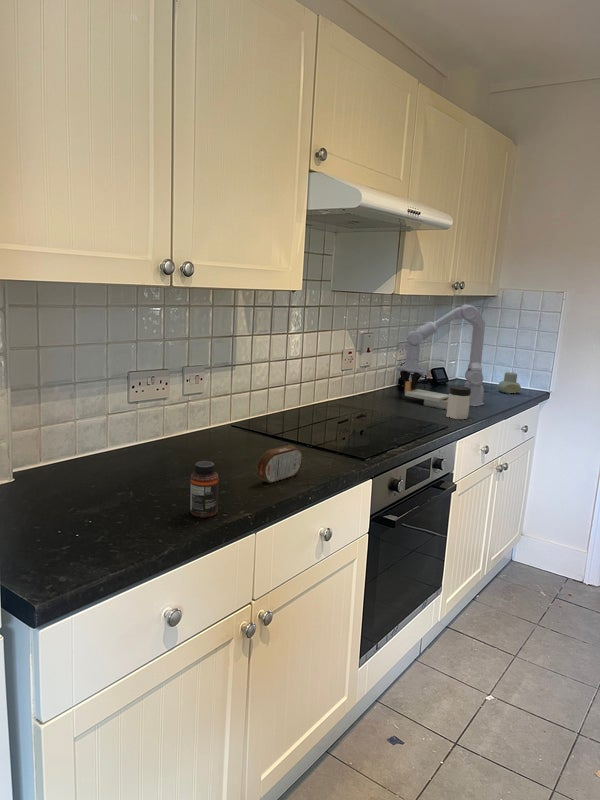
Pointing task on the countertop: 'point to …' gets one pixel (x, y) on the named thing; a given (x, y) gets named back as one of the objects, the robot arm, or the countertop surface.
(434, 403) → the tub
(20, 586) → the countertop surface
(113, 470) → the countertop surface
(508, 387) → the air freshener
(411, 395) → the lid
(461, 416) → the jar
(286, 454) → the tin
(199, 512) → the supplement bottle
